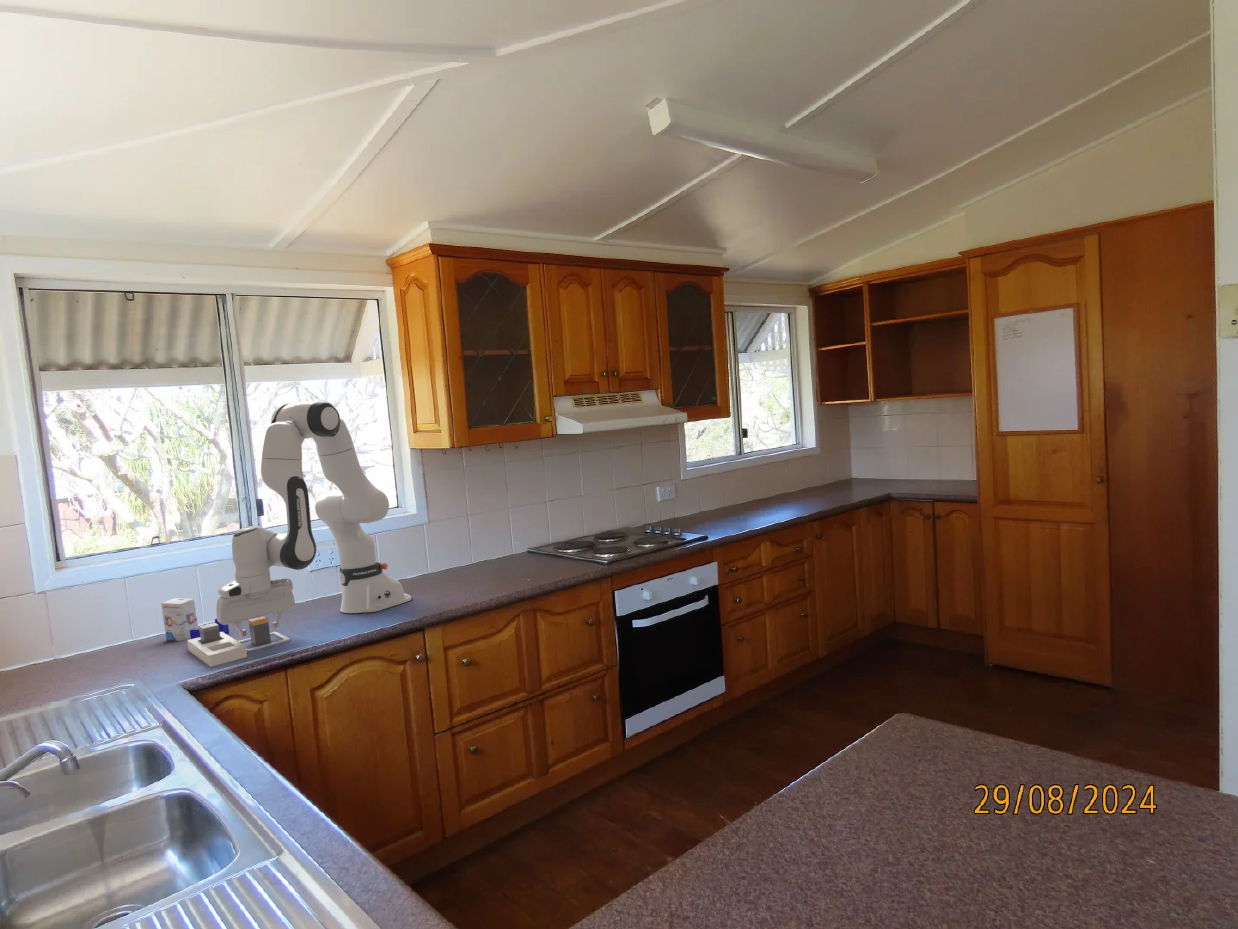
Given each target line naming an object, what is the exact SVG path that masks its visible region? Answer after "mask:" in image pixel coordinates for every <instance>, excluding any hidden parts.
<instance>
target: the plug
mask: <svg viewBox="0 0 1238 929" xmlns="http://www.w3.org/2000/svg"><path fill="white" fill-rule="evenodd" d="M248 626H249V633H250V638H251V640H250V641H251V644H253V645H254V646H261V645H265V644H269V643H272V641H271V639H272V638H271V635H270V633H271V632H270V624H269V618H267V617H265V616H261V617H256V618H252V619H248Z"/></svg>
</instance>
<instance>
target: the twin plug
mask: <svg viewBox="0 0 1238 929" xmlns="http://www.w3.org/2000/svg"><path fill="white" fill-rule="evenodd" d="M198 628H199V631H200V638H201V644H206V643H210V642H214V641H218V640H221V639H220V631H219V625H218V624H216V623H215V622H212V623H206V624H203V625H198Z"/></svg>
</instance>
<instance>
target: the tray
mask: <svg viewBox="0 0 1238 929" xmlns="http://www.w3.org/2000/svg"><path fill="white" fill-rule="evenodd" d="M273 635H274V636H276V637H277V638H280V639H281V640H277V641H274V642H268V643H264V644H260V645H257V646H255V647H251V648H247V647H246V651H247V653H248V652H252V651H255V650H260V649H264V648H267V647H271V646H274V645H279V644H282V643H286V642H288V641H291V638H290V637H287V636H285V635H283V634H282V633H279V632H277V631H272V632H270V636H273ZM237 641H238V642H240V643H242V644H243V643H246V642H249V641H251V637H249V638H245V639H241V640H237Z"/></svg>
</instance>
